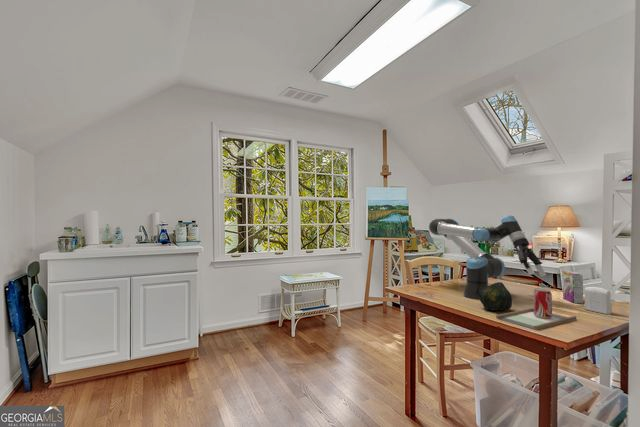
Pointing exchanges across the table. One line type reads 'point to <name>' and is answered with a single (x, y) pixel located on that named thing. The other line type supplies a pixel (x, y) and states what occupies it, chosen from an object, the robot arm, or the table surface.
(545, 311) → the soda can
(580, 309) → the table surface
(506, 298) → the squash
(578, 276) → the candy bar box
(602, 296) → the photo printer
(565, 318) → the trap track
